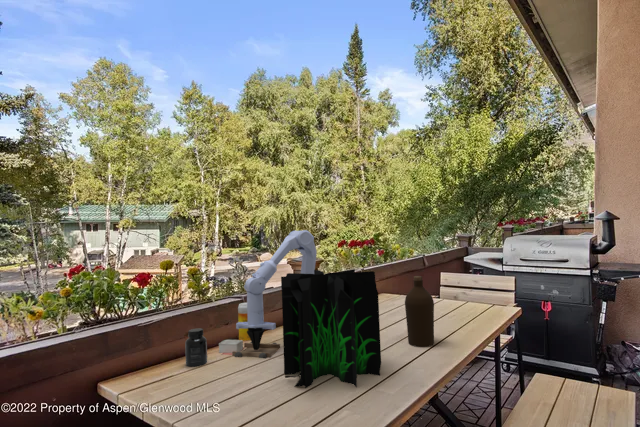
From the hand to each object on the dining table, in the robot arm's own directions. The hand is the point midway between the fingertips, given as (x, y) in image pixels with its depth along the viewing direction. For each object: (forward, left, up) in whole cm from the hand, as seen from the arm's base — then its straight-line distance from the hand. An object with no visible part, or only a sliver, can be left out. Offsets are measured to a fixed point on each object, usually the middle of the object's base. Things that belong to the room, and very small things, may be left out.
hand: (256, 349), depth 134 cm
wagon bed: (0, 0, -2) cm, 2 cm away
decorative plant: (-30, +12, -2) cm, 32 cm away
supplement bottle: (+16, +14, -2) cm, 21 cm away
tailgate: (+6, 0, -2) cm, 6 cm away
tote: (+10, 0, -1) cm, 10 cm away
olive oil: (-58, -19, -2) cm, 61 cm away
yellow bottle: (+11, -15, -2) cm, 19 cm away
